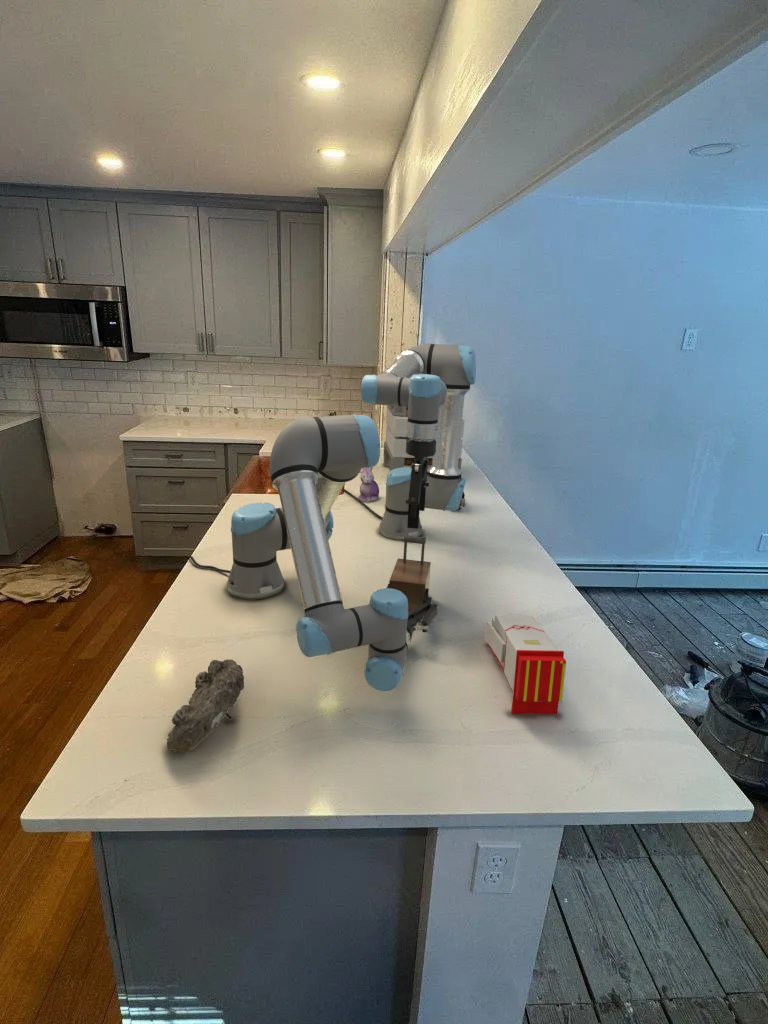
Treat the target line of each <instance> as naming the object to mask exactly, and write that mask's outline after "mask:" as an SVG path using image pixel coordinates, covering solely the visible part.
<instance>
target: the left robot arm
mask: <svg viewBox="0 0 768 1024" xmlns="http://www.w3.org/2000/svg"><path fill="white" fill-rule="evenodd" d="M380 441H381V440H380V434H379V431H378V428H377V425H376V423H375V421H374V420H373V419H372V418H371V417H370V416H368V415H366V414H355V413H353V414H344V415H326V416H325V415H324V416H302V417H299V418H296V419H294V420H293V421H291V422H290V423H288V424H287V425H286V426H284V428H283V429H282V430H281V432H280V433H279V434H278V436H277V437H276V439H275V441H274V443H273V446H272V449H271V452H270V456H269V466H268V468H269V477H270V482H271V486H272V488H273V489H274V490H277V491H278V497H279V500H280V504H281V507H275V505H274V504H272V503H270V502H252V503H248V504H245V505H243V506H240V507H239V508H237V509H236V510H234V511H233V513H232V515H231V519H230V521H231V522H230V533H231V545H232V547H231V548H232V565H231V568H230V570H228V569H222V568H218V567H216V566H213V565H205V564H204V565H203V564H200V563H198V561H196V559H195V558H194V557H193V556H192V555H188V556H187V557H186V559H187V560H190V559H191V561H192V563H193V564H194V565H195V566H196V567H198V568H201V569H210V570H211V569H212V570H215V571H217V572H220V573H226V574H229V575H228V579H227V582H226V584H227V591H228V593H229V594H230V595H231V596H233V597H235V598H238V599H243V600H250V601H251V600H252V601H253V600H263V599H267V598H271V597H273V596H276V595H277V594H280V592H282V590H283V589H284V588H285V587H284V586H285V582H284V581H285V580H284V576H283V573H282V571H281V568H280V565H279V563H278V559H277V553H278V552H279V551H280V552H281V551H286V550H290V552H291V555H292V561H293V565H294V570H295V575H296V580H297V583H298V584H297V585H298V588H299V593H300V597H301V602H302V607H303V611H304V616H303V617H300V618H299V619H298V620H297V621H296V624H295V633H296V641H297V646H298V648H299V650H300V652H301V653H302V654H303V656H305V657H308V658H314V657H319V656H325V655H327V656H328V655H329V656H330V655H331V654H335V653H338V652H341V651H342V652H343V651H345V650H346V651H347V650H349V649H353V648H357V647H362V646H367V645H368V657H367V660H366V662H365V665H364V671H363V673H364V679H365V682H366V683H367V684H368V686H369V687H371V688H372V689H374V690H377V691H379V692H390V691H393V690H395V689H396V688H397V687H398V686H399V685H400V684H401V680H402V677H403V676H404V669H405V665H406V661H407V656H408V653H409V650H410V646H411V641H412V637H413V634H414V632H415V631H416V630H421V632H422V633H424V634H425V633H428V629H429V625H431V623H432V622H433V620H434V619H435V618H436V616H437V614H438V603H432V602H433V601H432V599H433V598H432V597H431V596H429V593H430V588H429V589H427V588H426V591H425V595H424V599H423V604H422V605H421V606H419V607H418V608H416V609H415V610H413V611H409V612H408V600H407V597H406V596H405V595H404V594H403V593H402V592H401V591H399V590H396V589H391V588H389V583H387V586H386V587H385V588H383V587H382V588H379V589H377V590H376V591H373V592H372V594H371V595H370V600H369V604H364V605H359V606H353V607H349V608H345V607H344V604H343V599H342V594H341V590H340V586H339V581H338V577H337V573H336V568H335V564H334V560H333V555H332V550H331V546H330V542H329V541H330V539H331V537H332V535H333V529H334V517H333V512H332V511H331V509H332V507H333V505H334V503H335V502H336V500H337V499H338V496H339V495H340V493H341V491H343V490H342V488H344V486H345V485H346V483H348V482H351V481H353V480H355V479H356V478H357V477H358V475H359V474H360V472H361V470H363V469H362V468H366V467H367V468H370V467H373V468H374V467H376V466H377V465H378V463H379V461H380V457H381V442H380ZM423 616H424V617H423ZM422 617H423V619H421V621H420V620H419V619H420V618H422Z"/></svg>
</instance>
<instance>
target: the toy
mask: <svg viewBox="0 0 768 1024" xmlns="http://www.w3.org/2000/svg"><path fill="white" fill-rule="evenodd" d="M494 615H495V616H494V617H491V622H490V620H485V621H486V622H485V630H484V640H485V641H486V642H487V646H488V647H489V649H490V651H491V652H492V654H493V656H494V657H495V659H496V661H497V663H498V665H499V667H500V668H501V670H502V671H503V674H504V676H505V678H506V680H507V682H508V684H509V686H510V689H511V690H512V701H511V712H510V713H511V714H512V715H556V716H558V715H559V714H558V713H559V705H560V703H562V702H563V695H564V694H563V693H564V686H565V685H564V683H565V677H566V676H565V675H566V667H567V666H566V665H567V660H566V658H564V656H565V651H564V650H559V649H558V648H557V646H556V645H555V644H554V642H553V641H552V640H551V638H550V637H549V636H548V634H547V633H546V631H544V629H543V628H542V626H541V625H540V623H539V622H538V620H536V618H535V617H534V615H531V614H530V615H527V614H526V615H523V614H519V615H518V614H494Z"/></svg>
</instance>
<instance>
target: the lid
mask: <svg viewBox="0 0 768 1024" xmlns="http://www.w3.org/2000/svg"><path fill="white" fill-rule="evenodd" d="M426 543H427V537H424V536H420V537H417V536H407V535H404V540H403V558H397V560H396V562H395V565H394V567H393V570H392V572H391V575H390V578H389V581H388V584H389V583H391V584H400V585H408V586H416V587H424V588H425V586H426V582H427V578H428V574H429V570H430V571H431V565H432V562H431V561H425V560H424V559H425V549H426V548H425V547H426ZM408 544H416V545H421V550H420V551H421V554H420V560H415V559H408V558H407V554H408Z"/></svg>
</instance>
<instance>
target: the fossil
mask: <svg viewBox="0 0 768 1024" xmlns="http://www.w3.org/2000/svg"><path fill="white" fill-rule="evenodd" d="M243 670H244V669H243V667H242V665H240V664H237V662H236V661H235V660H234V659H232V658H231V659H227V658H226V659H224V660H223V661H222V660H217V659H212V660H211V661H210V663H209V665H208V666H207V671H201V672H199V673H198V674H197V675H196V676H195V680H194V684H195V685H194V687H195V689H194V690H193V693H192V694H191V697H190V698H189V700H188V704H184V705H182V706H181V707H180V709H177V710H176V711H175V713H174V715H173V716H172V718H171V723H172V724H173V727H172V730H171V731H170V732H168V734H167V738H166V741H167V742H166V745H167V749H168V750H169V751H173V752H174V753H176V754H178V753H182V752H188V751H189V752H192V751H193V750H195V748H196V747H197V746H199V744H200V743H201V742H203V741H204V740H205V739H206V738H207V737H208V736H209V735H210V734H211V733H212V732H214V730H215V729H217V727H218V726H219V724H220V722H221V721H222V720H223V719H224V718H225V716H226V717H227V719H229V720H233V717H232V715H230V714H229V710H230V709H231V708H234V706H235V704H236V703H237V702H238V699H239V697H240V695H241V693H242V691H243V690H245V689H244V688H245V675H244V671H243Z"/></svg>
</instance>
